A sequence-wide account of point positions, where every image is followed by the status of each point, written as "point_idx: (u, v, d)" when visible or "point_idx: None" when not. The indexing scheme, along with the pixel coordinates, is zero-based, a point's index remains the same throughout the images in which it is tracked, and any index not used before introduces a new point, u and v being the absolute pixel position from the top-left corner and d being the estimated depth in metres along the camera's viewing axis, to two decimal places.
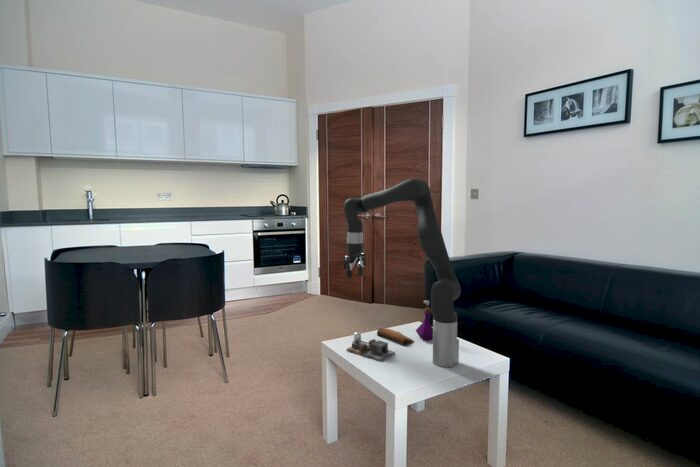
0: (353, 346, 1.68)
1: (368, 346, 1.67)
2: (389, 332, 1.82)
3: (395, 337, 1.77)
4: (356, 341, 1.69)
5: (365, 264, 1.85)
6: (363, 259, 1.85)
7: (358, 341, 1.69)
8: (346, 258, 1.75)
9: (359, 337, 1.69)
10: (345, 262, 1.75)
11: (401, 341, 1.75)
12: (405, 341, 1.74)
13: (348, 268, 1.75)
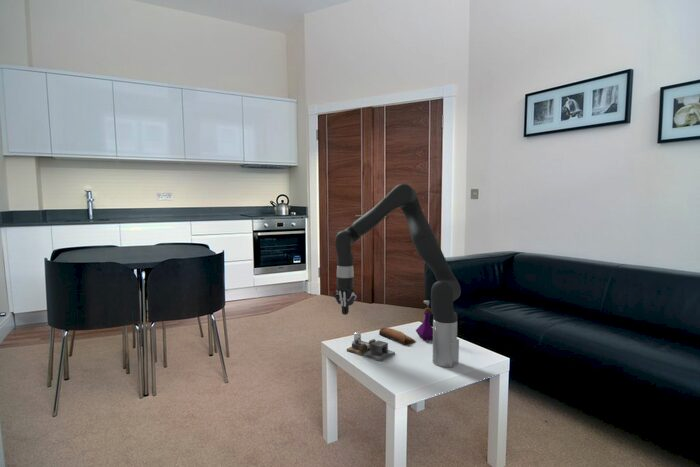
0: (353, 346, 1.68)
1: (368, 346, 1.67)
2: (391, 332, 1.83)
3: (397, 337, 1.78)
4: (356, 341, 1.69)
5: None
6: (339, 296, 1.76)
7: (358, 341, 1.69)
8: (355, 298, 1.70)
9: (359, 337, 1.69)
10: (353, 301, 1.71)
11: (402, 341, 1.75)
12: (406, 340, 1.75)
13: (351, 303, 1.73)
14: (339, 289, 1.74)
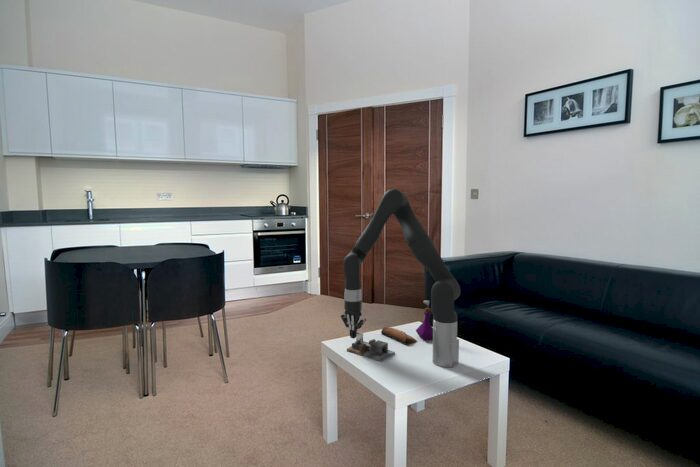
0: (353, 346, 1.68)
1: (370, 347, 1.66)
2: (392, 331, 1.83)
3: (398, 336, 1.79)
4: (358, 342, 1.68)
5: None
6: (347, 319, 1.74)
7: (360, 342, 1.68)
8: (364, 322, 1.68)
9: (361, 338, 1.68)
10: (361, 325, 1.68)
11: (403, 340, 1.75)
12: (407, 340, 1.75)
13: None
14: (347, 312, 1.72)
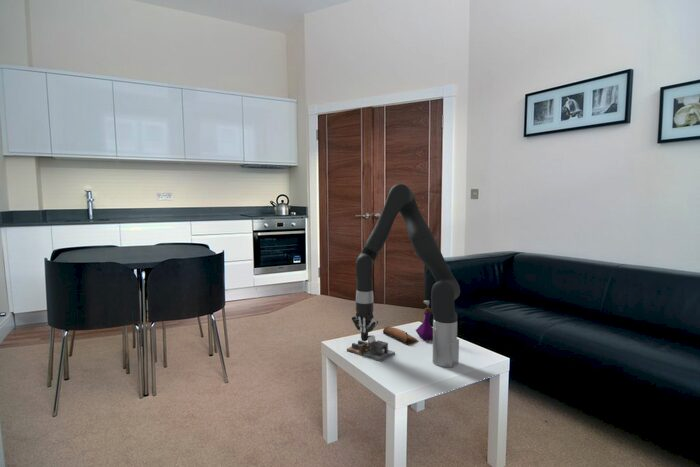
0: (353, 346, 1.68)
1: (383, 350, 1.62)
2: (394, 331, 1.84)
3: (399, 336, 1.79)
4: (370, 345, 1.64)
5: None
6: (358, 321, 1.70)
7: None
8: (376, 324, 1.64)
9: (373, 341, 1.64)
10: (373, 327, 1.64)
11: (404, 340, 1.76)
12: (408, 340, 1.75)
13: (371, 330, 1.67)
14: (358, 315, 1.68)
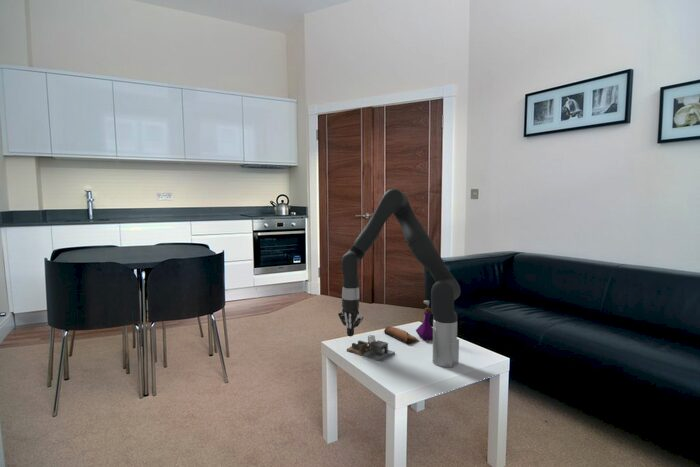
0: (353, 346, 1.68)
1: (383, 350, 1.62)
2: (395, 331, 1.84)
3: (400, 336, 1.79)
4: (370, 345, 1.64)
5: None
6: (344, 317, 1.75)
7: None
8: (361, 320, 1.68)
9: (373, 341, 1.64)
10: (358, 323, 1.69)
11: (405, 340, 1.76)
12: (408, 340, 1.76)
13: None
14: (344, 311, 1.72)
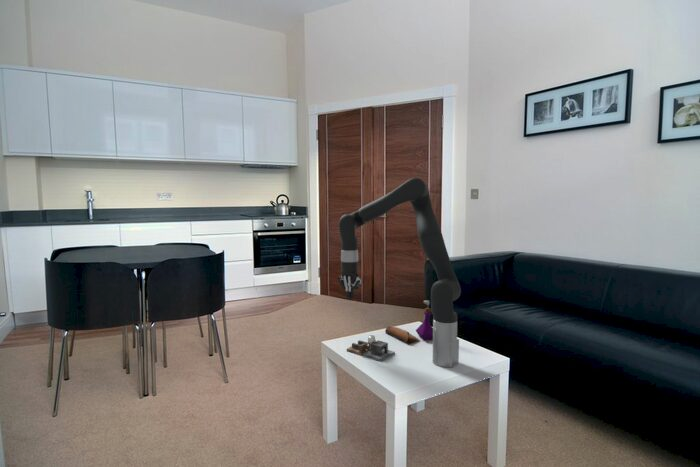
0: (353, 346, 1.68)
1: (383, 350, 1.62)
2: (396, 330, 1.85)
3: (400, 336, 1.80)
4: (370, 345, 1.64)
5: None
6: (344, 281, 1.74)
7: None
8: (360, 282, 1.67)
9: (373, 341, 1.64)
10: (358, 285, 1.68)
11: (405, 340, 1.76)
12: (409, 340, 1.76)
13: (356, 288, 1.70)
14: (344, 274, 1.71)
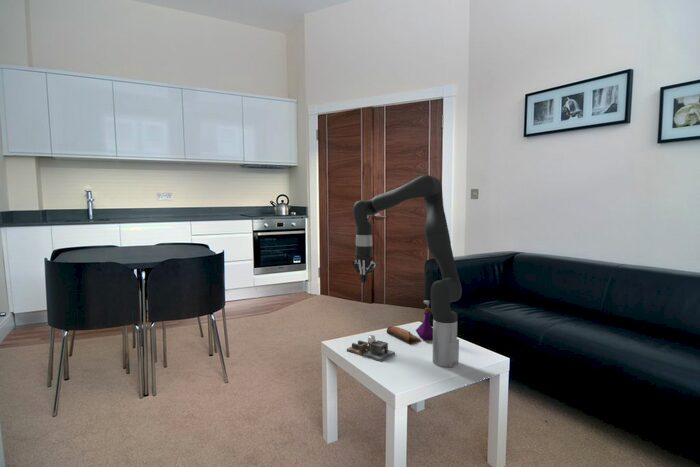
0: (353, 346, 1.68)
1: (383, 350, 1.62)
2: (397, 330, 1.85)
3: (402, 336, 1.80)
4: (370, 345, 1.64)
5: None
6: (358, 265, 1.81)
7: None
8: (374, 266, 1.75)
9: (373, 341, 1.64)
10: (372, 269, 1.75)
11: (407, 339, 1.77)
12: (410, 339, 1.76)
13: (370, 272, 1.78)
14: (358, 258, 1.79)
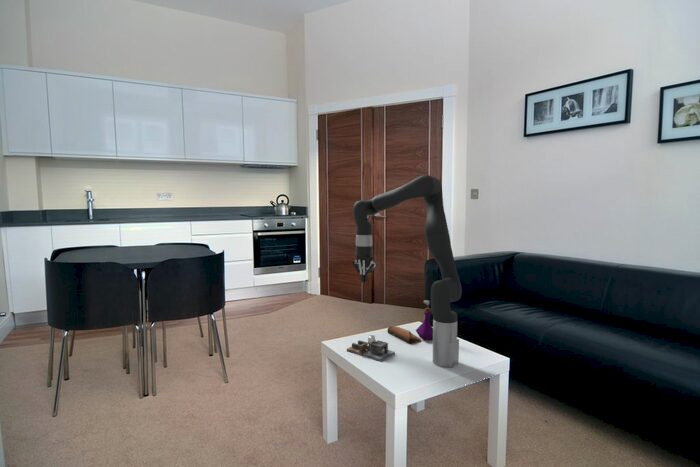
0: (353, 346, 1.68)
1: (383, 350, 1.62)
2: (398, 330, 1.85)
3: (402, 335, 1.80)
4: (370, 345, 1.64)
5: None
6: (358, 265, 1.81)
7: None
8: (374, 266, 1.75)
9: (373, 341, 1.64)
10: (372, 269, 1.75)
11: (407, 339, 1.77)
12: (410, 339, 1.76)
13: (370, 272, 1.78)
14: (358, 258, 1.79)
